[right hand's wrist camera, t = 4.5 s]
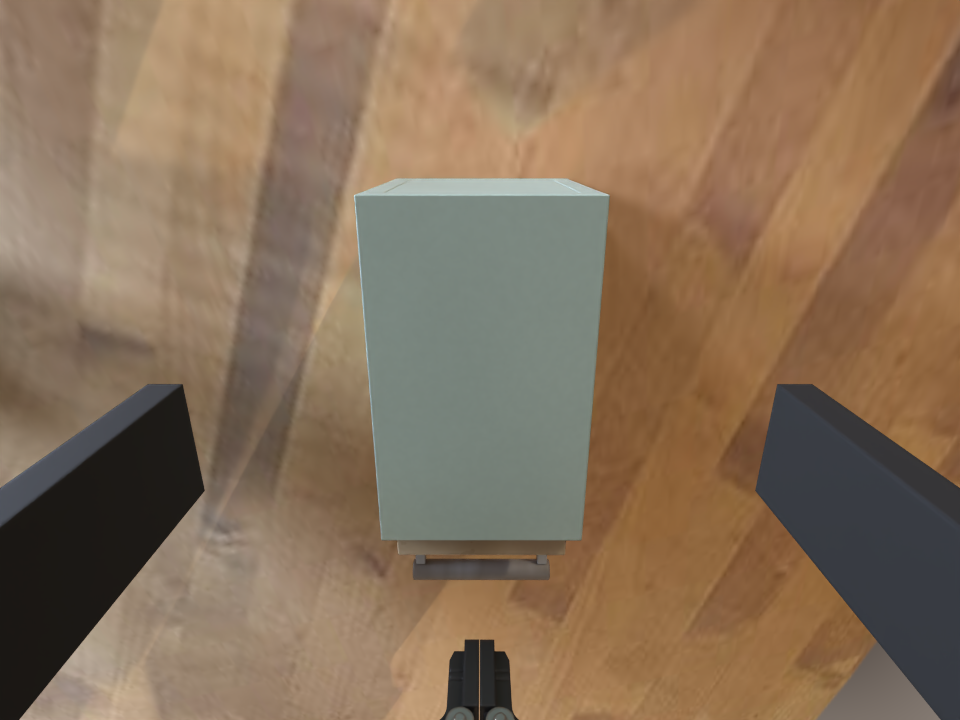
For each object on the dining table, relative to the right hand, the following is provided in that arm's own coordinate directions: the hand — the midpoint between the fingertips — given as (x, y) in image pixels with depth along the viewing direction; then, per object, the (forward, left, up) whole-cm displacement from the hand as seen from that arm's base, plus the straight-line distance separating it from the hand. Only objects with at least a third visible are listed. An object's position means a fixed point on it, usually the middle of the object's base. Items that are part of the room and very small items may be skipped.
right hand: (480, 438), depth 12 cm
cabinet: (+2, -3, -23) cm, 24 cm away
